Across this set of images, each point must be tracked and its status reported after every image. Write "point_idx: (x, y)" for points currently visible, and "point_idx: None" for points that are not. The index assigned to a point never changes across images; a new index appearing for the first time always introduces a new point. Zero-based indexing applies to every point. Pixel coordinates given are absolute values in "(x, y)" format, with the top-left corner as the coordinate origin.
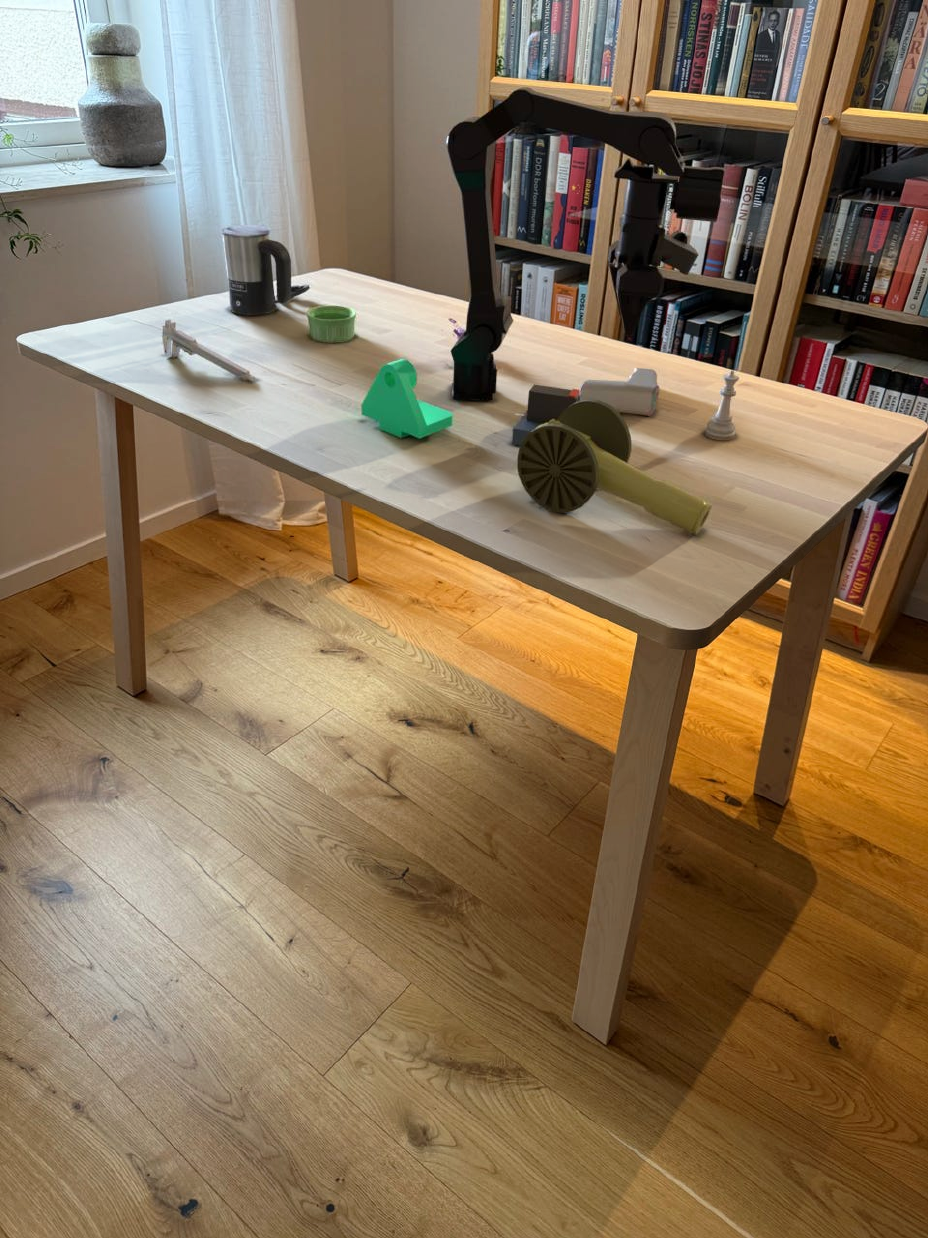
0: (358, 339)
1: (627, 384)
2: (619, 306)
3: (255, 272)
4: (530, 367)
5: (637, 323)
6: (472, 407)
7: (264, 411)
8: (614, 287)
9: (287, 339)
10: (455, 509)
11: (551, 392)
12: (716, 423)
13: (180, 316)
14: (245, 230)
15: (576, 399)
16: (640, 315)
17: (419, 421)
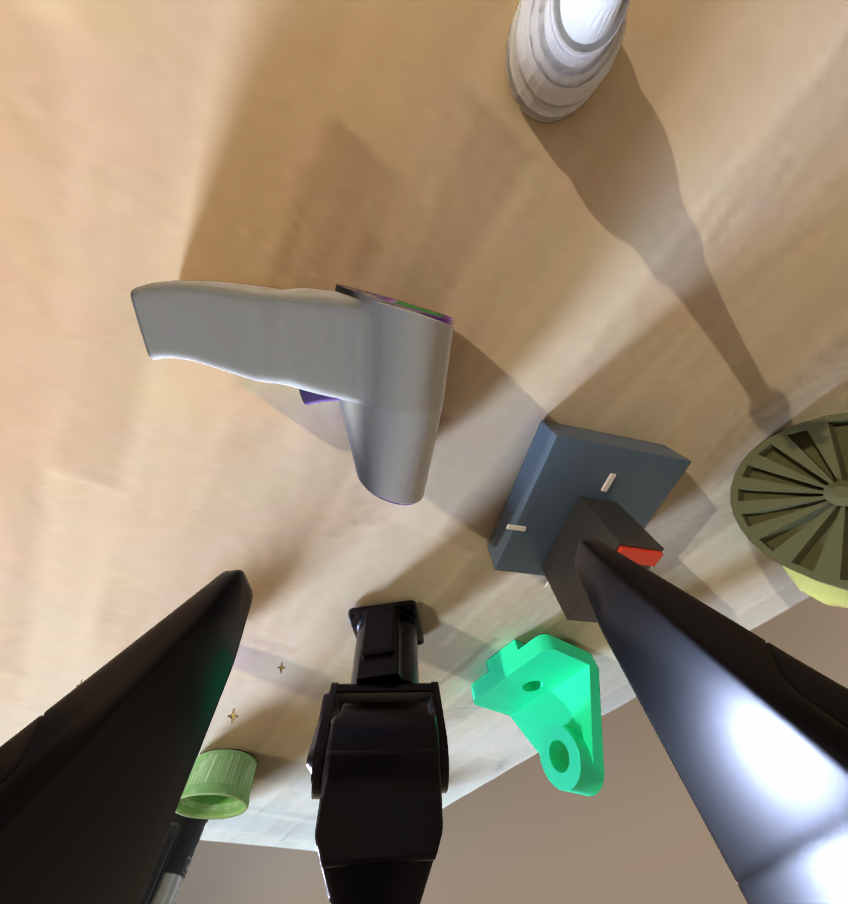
0: (220, 743)
1: (419, 405)
2: (230, 656)
3: (163, 893)
4: (205, 567)
5: (678, 588)
6: (444, 616)
7: (491, 745)
8: (153, 859)
9: (266, 778)
10: (773, 590)
11: None
12: (604, 52)
13: (247, 831)
14: None
15: (658, 545)
16: (763, 642)
17: (596, 677)
